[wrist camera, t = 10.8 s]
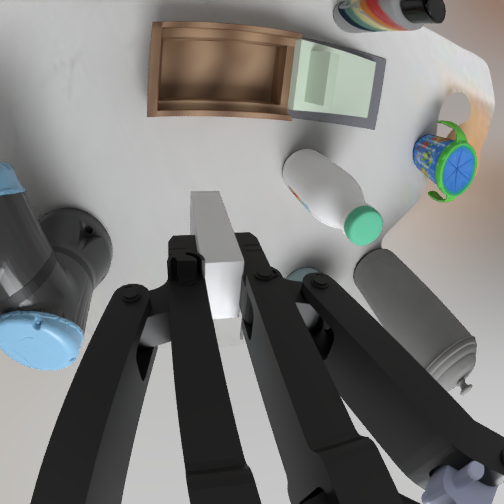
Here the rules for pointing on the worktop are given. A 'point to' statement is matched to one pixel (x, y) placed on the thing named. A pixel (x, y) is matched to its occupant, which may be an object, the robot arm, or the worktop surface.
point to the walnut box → (220, 70)
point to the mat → (374, 100)
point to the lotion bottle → (387, 15)
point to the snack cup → (446, 162)
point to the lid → (330, 80)
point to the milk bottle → (331, 195)
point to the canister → (417, 318)
